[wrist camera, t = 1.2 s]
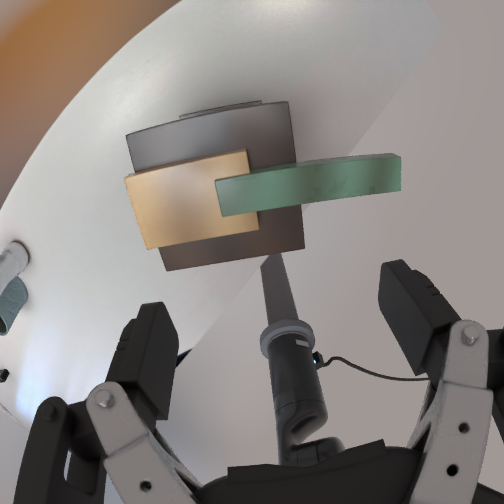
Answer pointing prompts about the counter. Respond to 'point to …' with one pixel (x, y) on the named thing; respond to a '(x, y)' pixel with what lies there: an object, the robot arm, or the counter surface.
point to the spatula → (244, 192)
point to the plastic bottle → (11, 263)
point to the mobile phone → (3, 375)
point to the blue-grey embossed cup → (11, 303)
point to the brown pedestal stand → (218, 141)
